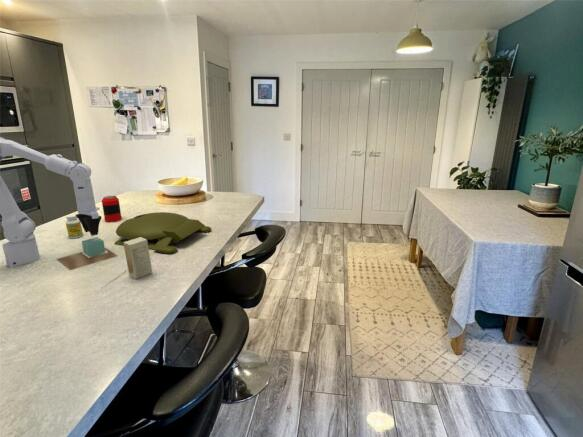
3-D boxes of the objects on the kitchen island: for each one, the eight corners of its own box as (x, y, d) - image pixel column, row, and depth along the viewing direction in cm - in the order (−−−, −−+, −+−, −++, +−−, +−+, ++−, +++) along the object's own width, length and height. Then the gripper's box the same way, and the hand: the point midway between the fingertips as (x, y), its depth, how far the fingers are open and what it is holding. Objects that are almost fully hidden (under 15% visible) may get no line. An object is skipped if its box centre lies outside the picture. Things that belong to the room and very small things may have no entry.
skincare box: (146, 269, 117) (141, 236, 114) (152, 272, 115) (148, 239, 111) (127, 275, 112) (122, 241, 109) (134, 279, 110) (128, 244, 106)
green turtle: (213, 230, 157) (212, 210, 154) (172, 256, 129) (169, 232, 126) (151, 223, 167) (148, 204, 164) (100, 245, 139) (96, 223, 136)
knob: (89, 256, 124) (87, 244, 123) (83, 252, 128) (81, 240, 126) (105, 252, 128) (103, 240, 127) (99, 248, 132) (97, 236, 130)
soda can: (121, 221, 169) (117, 198, 165) (104, 223, 166) (100, 199, 163) (122, 217, 175) (118, 194, 172) (106, 218, 173) (102, 196, 169)
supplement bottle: (82, 233, 152) (78, 213, 149) (83, 237, 147) (79, 216, 145) (68, 235, 149) (64, 215, 146) (68, 239, 145) (64, 218, 142)
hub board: (70, 272, 114) (68, 261, 113) (57, 261, 123) (54, 250, 122) (118, 258, 126) (116, 247, 125) (103, 248, 135) (101, 238, 133)
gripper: (104, 199, 120) (110, 234, 124) (89, 193, 129) (95, 226, 133) (83, 202, 115) (90, 239, 119) (68, 196, 124) (75, 231, 128)
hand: (91, 233), depth 126 cm, fingers open, 5 cm apart
